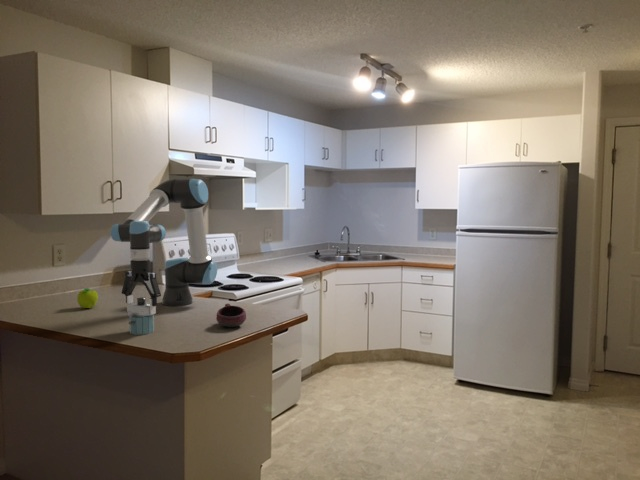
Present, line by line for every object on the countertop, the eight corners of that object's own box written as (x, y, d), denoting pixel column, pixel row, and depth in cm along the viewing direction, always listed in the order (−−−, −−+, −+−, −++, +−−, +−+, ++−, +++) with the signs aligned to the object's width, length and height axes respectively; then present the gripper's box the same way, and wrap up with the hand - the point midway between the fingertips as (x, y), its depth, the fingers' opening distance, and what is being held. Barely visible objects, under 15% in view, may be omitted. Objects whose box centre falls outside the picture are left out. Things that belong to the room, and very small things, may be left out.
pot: (144, 326, 226) (143, 310, 225) (161, 329, 222) (161, 312, 222) (121, 334, 214) (121, 317, 213) (139, 336, 210) (139, 319, 210)
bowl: (252, 326, 227) (252, 308, 227) (227, 332, 218) (227, 312, 218) (230, 320, 239) (229, 302, 238) (205, 325, 229) (205, 306, 229)
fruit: (75, 310, 256) (75, 290, 255) (80, 306, 265) (79, 286, 264) (96, 309, 258) (95, 289, 257) (99, 305, 267) (99, 286, 266)
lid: (140, 309, 225) (140, 294, 224) (161, 312, 220) (161, 296, 220) (121, 315, 215) (120, 299, 214) (142, 317, 210) (142, 301, 210)
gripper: (111, 258, 217) (112, 311, 218) (157, 261, 207) (158, 317, 209) (124, 256, 223) (125, 308, 225) (169, 259, 214) (170, 313, 216)
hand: (141, 312), depth 217 cm, fingers closed on lid, 11 cm apart
